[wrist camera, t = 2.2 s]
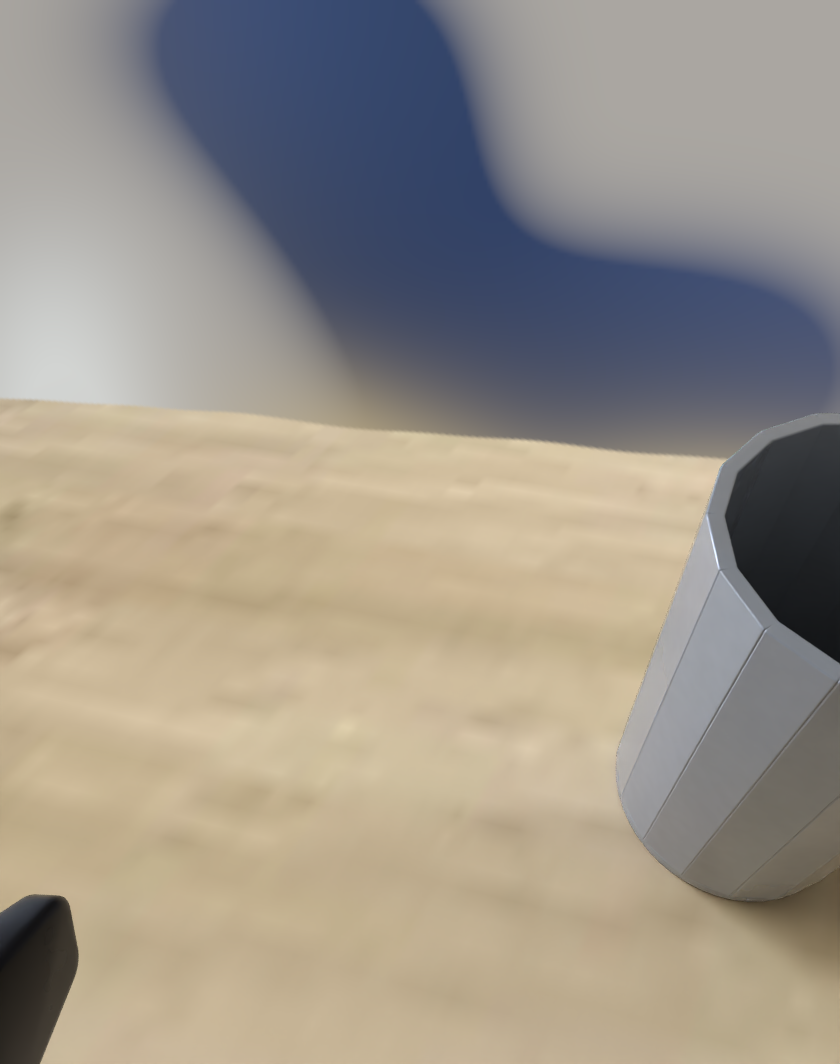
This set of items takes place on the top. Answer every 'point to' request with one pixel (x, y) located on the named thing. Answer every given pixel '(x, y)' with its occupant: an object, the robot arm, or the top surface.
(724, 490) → the tumbler
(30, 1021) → the robot arm
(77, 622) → the top surface
